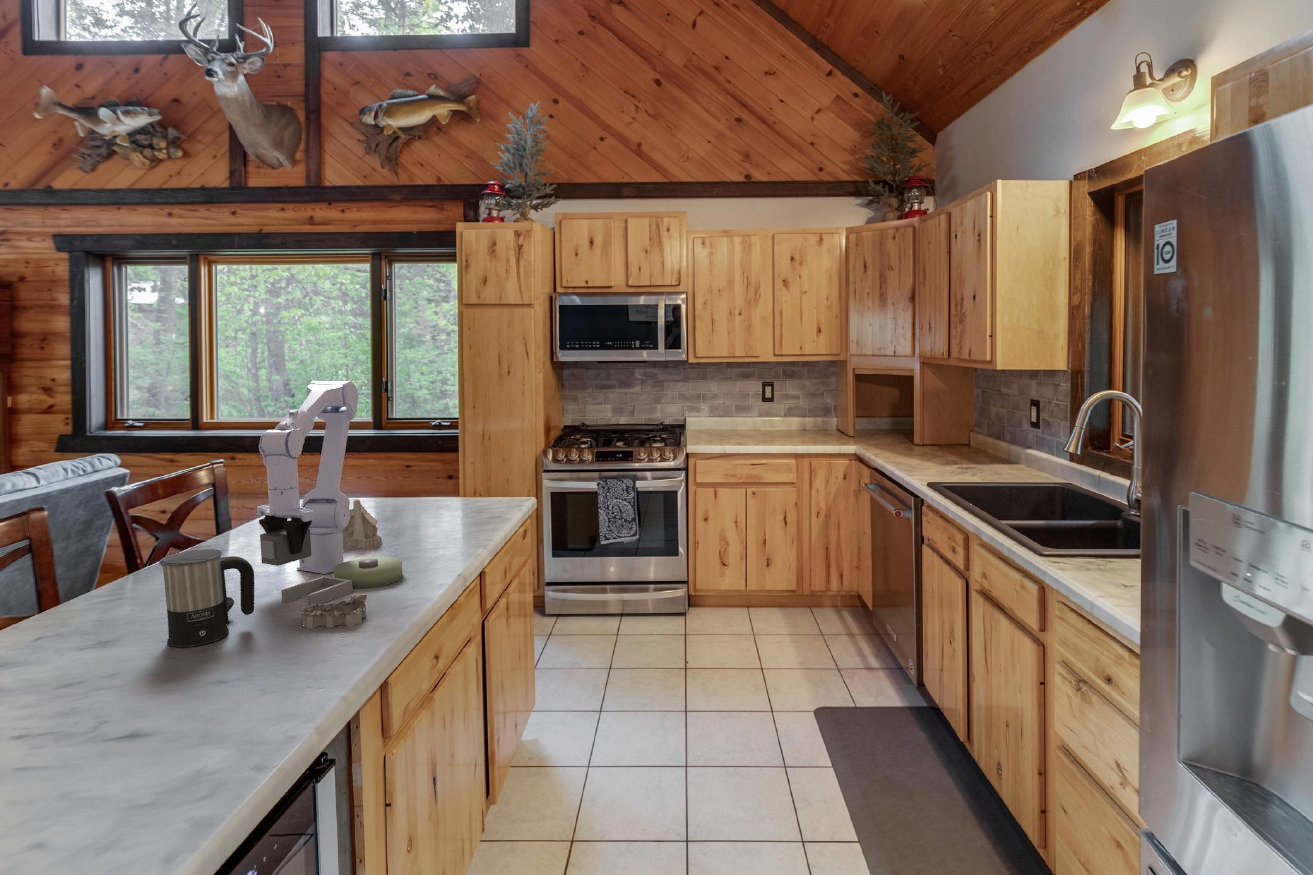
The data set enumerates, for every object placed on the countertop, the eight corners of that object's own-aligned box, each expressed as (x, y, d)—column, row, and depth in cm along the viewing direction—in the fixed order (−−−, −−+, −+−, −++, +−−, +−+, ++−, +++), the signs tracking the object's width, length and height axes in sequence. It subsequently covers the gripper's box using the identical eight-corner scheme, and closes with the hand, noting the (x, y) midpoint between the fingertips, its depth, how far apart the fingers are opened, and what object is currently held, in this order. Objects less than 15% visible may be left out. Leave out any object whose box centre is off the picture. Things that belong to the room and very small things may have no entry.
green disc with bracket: (271, 600, 147) (270, 580, 146) (369, 566, 170) (368, 550, 170) (321, 609, 141) (320, 589, 141) (415, 573, 165) (415, 556, 164)
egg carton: (370, 614, 140) (369, 593, 139) (357, 628, 132) (356, 607, 132) (313, 615, 139) (312, 594, 138) (297, 630, 131) (296, 608, 131)
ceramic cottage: (373, 549, 185) (369, 491, 184) (308, 552, 185) (304, 493, 184) (394, 538, 201) (391, 484, 200) (335, 540, 201) (332, 486, 200)
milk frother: (182, 653, 121) (176, 566, 119) (137, 634, 129) (131, 552, 128) (266, 626, 133) (261, 547, 131) (220, 610, 141) (215, 535, 140)
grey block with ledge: (276, 566, 147) (274, 537, 146) (260, 563, 149) (258, 534, 148) (311, 556, 154) (309, 528, 154) (295, 553, 156) (294, 526, 156)
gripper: (241, 488, 150) (246, 552, 151) (291, 493, 144) (294, 560, 145) (272, 482, 156) (276, 544, 157) (320, 487, 150) (324, 552, 151)
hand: (287, 551), depth 152 cm, fingers closed on grey block with ledge, 5 cm apart
